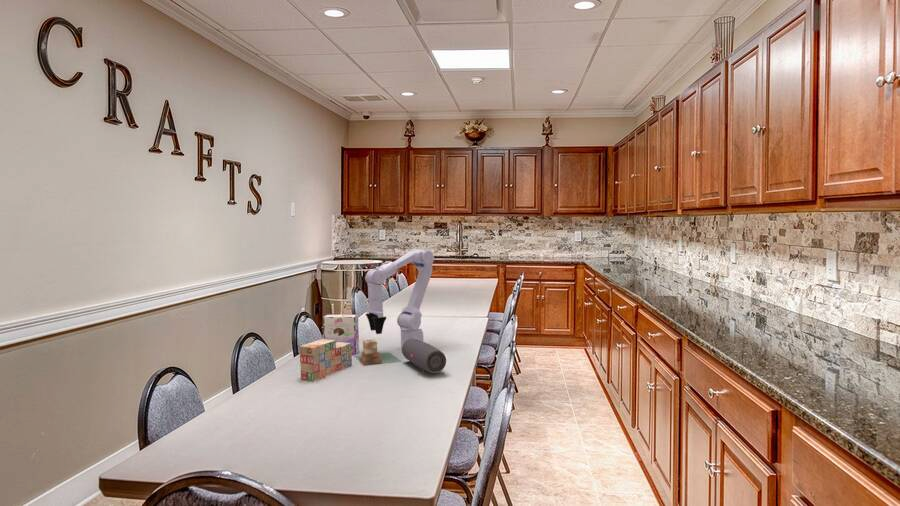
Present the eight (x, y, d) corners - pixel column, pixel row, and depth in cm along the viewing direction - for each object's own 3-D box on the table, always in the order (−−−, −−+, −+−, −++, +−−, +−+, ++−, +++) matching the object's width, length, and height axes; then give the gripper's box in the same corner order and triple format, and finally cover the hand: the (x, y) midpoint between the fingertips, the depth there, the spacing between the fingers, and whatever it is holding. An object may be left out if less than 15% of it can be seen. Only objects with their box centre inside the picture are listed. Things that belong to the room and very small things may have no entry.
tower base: (376, 359, 220) (376, 354, 220) (381, 363, 214) (381, 358, 214) (359, 361, 217) (359, 356, 217) (364, 365, 211) (364, 360, 211)
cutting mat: (389, 353, 231) (389, 352, 231) (401, 362, 217) (401, 361, 217) (354, 357, 225) (354, 356, 225) (364, 366, 211) (364, 365, 211)
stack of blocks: (339, 364, 214) (338, 333, 214) (352, 366, 211) (351, 335, 211) (300, 379, 196) (299, 345, 195) (313, 381, 193) (312, 347, 192)
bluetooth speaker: (400, 363, 215) (399, 338, 215) (421, 360, 220) (421, 335, 219) (424, 378, 195) (424, 350, 195) (447, 374, 200) (447, 347, 199)
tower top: (375, 354, 219) (375, 350, 219) (379, 358, 214) (379, 353, 214) (361, 356, 217) (361, 351, 217) (365, 359, 212) (365, 354, 212)
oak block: (374, 350, 218) (373, 339, 218) (377, 352, 214) (377, 341, 214) (363, 351, 217) (362, 340, 216) (366, 354, 212) (365, 342, 212)
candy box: (359, 352, 233) (358, 314, 232) (355, 355, 228) (355, 316, 227) (328, 351, 235) (327, 313, 234) (323, 355, 229) (322, 316, 228)
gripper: (361, 297, 229) (362, 329, 230) (370, 302, 216) (371, 336, 217) (377, 296, 232) (378, 327, 233) (388, 301, 219) (388, 334, 220)
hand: (376, 332), depth 225 cm, fingers open, 7 cm apart
